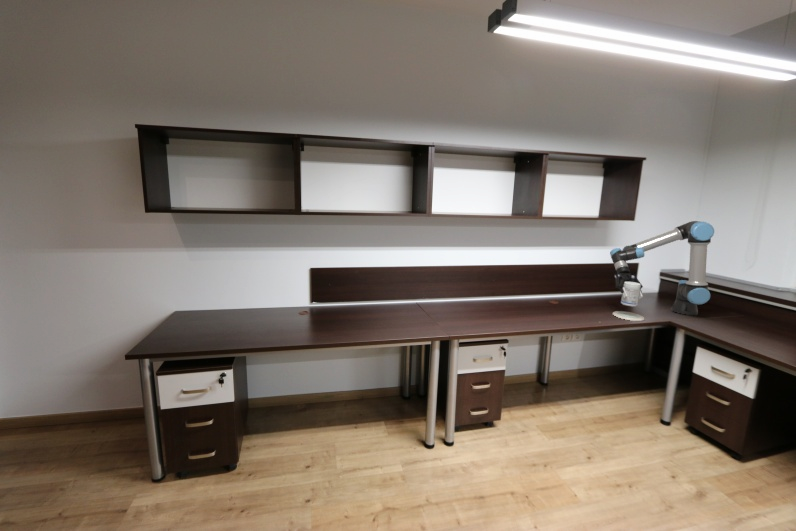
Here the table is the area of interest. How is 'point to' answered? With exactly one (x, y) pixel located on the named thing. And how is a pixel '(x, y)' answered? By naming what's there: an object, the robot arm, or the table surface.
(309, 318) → the table surface
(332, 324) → the table surface
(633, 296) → the supplement tub
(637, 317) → the ceramic plate
